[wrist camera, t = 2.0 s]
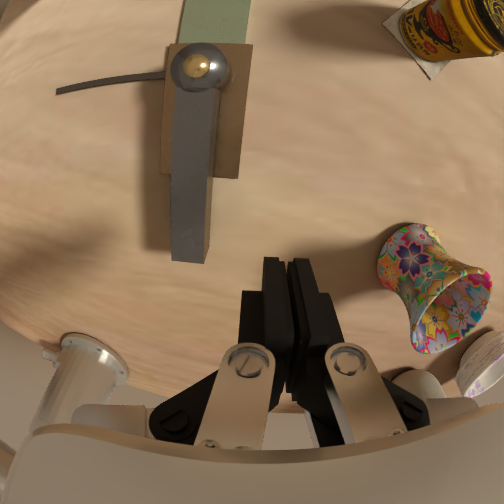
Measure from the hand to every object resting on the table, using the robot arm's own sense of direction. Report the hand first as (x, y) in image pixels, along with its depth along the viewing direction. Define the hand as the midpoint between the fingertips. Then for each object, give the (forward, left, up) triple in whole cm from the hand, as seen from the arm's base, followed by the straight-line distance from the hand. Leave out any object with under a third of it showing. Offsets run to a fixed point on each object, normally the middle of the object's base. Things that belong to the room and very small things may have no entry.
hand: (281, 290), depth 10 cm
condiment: (+14, +20, -15) cm, 29 cm away
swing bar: (-6, +3, -14) cm, 16 cm away
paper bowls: (+47, -23, -15) cm, 55 cm away
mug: (+18, -5, -15) cm, 24 cm away
